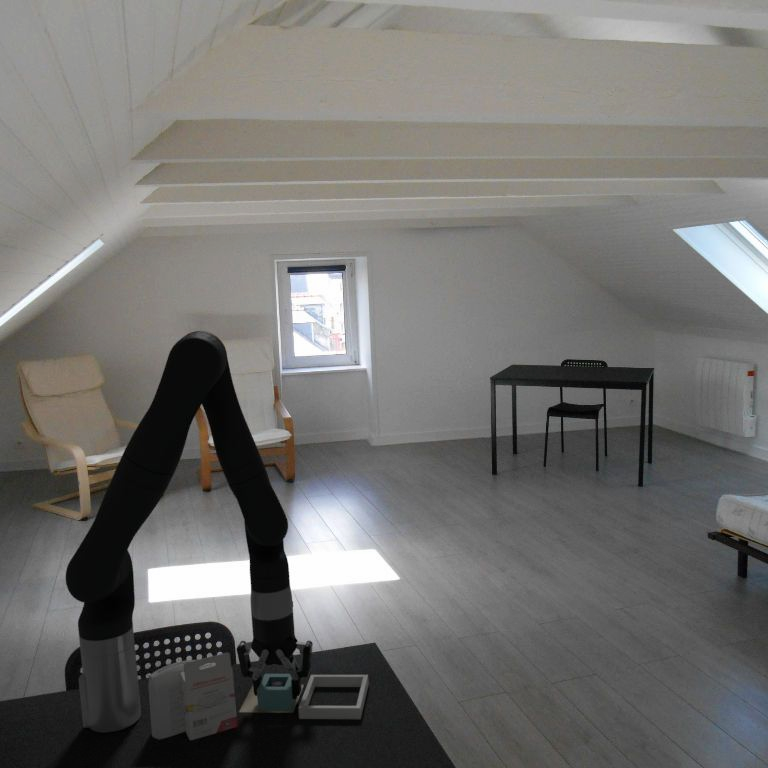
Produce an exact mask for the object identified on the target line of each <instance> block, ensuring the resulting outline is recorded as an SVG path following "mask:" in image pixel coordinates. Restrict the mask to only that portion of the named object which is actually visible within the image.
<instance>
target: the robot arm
mask: <svg viewBox="0 0 768 768" xmlns="http://www.w3.org/2000/svg"><path fill="white" fill-rule="evenodd" d="M201 406H202V408H203V410H204V413H205V417H206V419H207V422H208V426H209V429H210V434H211V437H212V442H213V446H214V450H215V453H216V458H217V459H218V462H219V465H220V467H221V470H222V472H223V475H224V477H225V480H226V482H227V484H228V486H229V489H230V490H231V492H232V494H233V496H234V497H235V499H236V500H237V503H238V506H239V509H240V512H241V514H242V517H243V519H244V521H243V523H244V533H245V538H246V543H247V544H246V545H247V550H248V557H249V576H250V577H249V579H250V611H251V612H250V613H251V626H252V641H249V642H246V640H241V641H240V642H239V644H238V646H237V647H236V654H237V659H238V661H239V667H240V671H241V675H242V677H243V678H250V679H251V680H252V686H253V689H254V694H255V696H257V689H258V687H259V685H260V684H261V682H262V680H263V677H264V675H263V674H262V672H263V669H264V667H265V665H266V666H273V665H277V666H283V668H284V669H285V671H287V672H288V674H290V675H291V677H292V680H291V685H292V695H293V699H297V697H298V696H299V695H300V696H301V694H300V692H301V693H302V691H301V685H302V680H301V679H302V678H307V677H308V675H309V672H310V670H311V666H312V665H311V664H312V653H313V641H311V640H307V641H306V642H305V641H304V642H302V641H299V640H298V639H297V637H296V635H295V634H296V633H295V621H294V619H295V618H294V601H293V595H292V589H291V584H290V583H291V581H290V567H289V561H288V556H287V555H286V552H285V547H284V539H285V538H286V536H287V533H288V530H289V520H288V517H287V515H286V513H285V510H284V509H283V506H282V504H281V502H280V500H279V498H278V496H277V493H276V492H275V491H274V488H273V486H272V483H271V481H270V478H269V474H268V471H267V469H266V466H265V463H264V461H263V459H262V456H261V454H260V452H259V449H258V447H257V444H256V442H255V440H254V438H253V434H252V433H251V430H250V427H249V425H248V423H247V421H246V418H245V416H244V413H243V410H242V407H241V404H240V402H239V398H238V395H237V392H236V389H235V386H234V382H233V378H232V373H231V368H230V364H229V359H228V353H227V349H226V346H225V344H224V343H223V342H222V340H221V339H220V338H219V337H218V336H217V335H215V334H213V333H212V332H208V331H206V330H196V331H191V332H189V333H186V334H185V335H184V336H183V337H181V338H180V339H179V340H177V342H175V344H174V345H173V346H172V348H171V349H170V350H169V353H168V356H167V359H166V362H165V365H164V369H163V372H162V374H161V378H160V381H159V383H158V387H157V389H156V391H155V394H154V397H153V400H152V401H151V404H150V406H149V408H148V409H147V411H146V413H145V414H144V416H142V418H141V420H140V421H139V423H138V425H137V427H136V428H135V430H134V432H133V433H132V436H131V438H130V440H129V441H128V443H127V445H126V446H125V448H124V450H123V453H122V455H121V457H120V459H119V461H118V464H117V466H116V467H115V470H114V473H113V476H112V478H111V480H110V482H109V484H108V487H107V489H106V491H105V494H104V496H103V499H102V500H101V503H100V506H99V508H98V511H97V513H96V516H95V518H94V520H93V522H92V524H91V525H90V528H89V529H88V531H87V533H86V535H85V536H84V538H83V539H82V541H81V543H80V544H79V547H78V548H77V550H76V551H75V552H74V554H73V556H72V557H71V559H70V561H69V562H68V565H67V567H66V570H65V585H66V587H67V591H68V592H69V594H70V595H71V596H72V598H74V599H75V600H77V601H79V602H80V603H83V606H82V609H81V612H80V615H79V617H78V621H77V630H78V639H79V640H78V641H79V647H80V648H79V649H80V650H79V651H80V658H81V666H82V667H81V668H82V674H80V675H79V677H78V686H79V687H78V688H79V697H80V707H81V715H82V717H81V718H82V726H83V728H85V729H90V730H91V731H93V732H96V733H100V734H101V733H104V734H105V733H106V734H107V733H113V732H118V731H121V730H125V729H126V728H128V727H131V726H132V725H134V724H136V722H138V720H139V719H140V718H141V715H142V708H141V698H140V687H139V686H140V685H139V677H138V667H137V666H138V665H137V655H136V644H135V636H134V635H135V634H134V623H133V621H134V620H133V615H134V611H135V605H136V603H135V601H136V598H135V579H134V568H133V565H134V564H133V561H132V557H131V555H130V552H129V547H130V545H131V542H132V541H133V540H134V538H135V536H136V535H137V533H138V531H140V529H141V528H142V527H143V525H144V524H145V522H146V520H147V519H148V518H149V517H150V516H151V514H152V513H153V511H154V509H155V508H156V507H157V505H158V503H159V502H160V501H161V499H162V497H164V495H165V492H166V491H167V489H168V487H169V485H170V483H171V481H172V479H173V477H174V474H175V472H176V470H177V468H178V465H179V463H180V460H181V458H182V456H183V452H184V448H185V445H186V441H187V438H188V435H189V431H190V428H191V425H192V422H193V420H194V418H195V417H196V414H197V413H198V411H199V409H200V408H201ZM251 650H252V651H253V652H254V654H255V655H256V656H257V657H258V658H259V659H258V661H257V663H256V665H255V667H252V663H251V662H252V661H251V658H250V653H251ZM296 650H298V651H299V654H300V656H302V666H301V667H300V666H299V664H298V662H297V658H296V657H295V655H294V653H295V651H296ZM300 696H299V697H300ZM257 699H258V698H257Z"/></svg>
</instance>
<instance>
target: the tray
mask: <svg viewBox="0 0 768 768" xmlns="http://www.w3.org/2000/svg"><path fill="white" fill-rule="evenodd" d="M369 684H370V683H369V674H310V677H309V680H308V682H307V685H306V686H305V687H306V688H305V690H304V693H303V695H302V698H301V700H300V703H299V705H298V719H299V720H362V715H363V710H364V707H365V702H366V698H367V693H368V688H369ZM316 688H359V694H358V697H357V701H356V705H310V703H311V699H312V697H313V695H314V692H315V691H314V690H315V689H316Z"/></svg>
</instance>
